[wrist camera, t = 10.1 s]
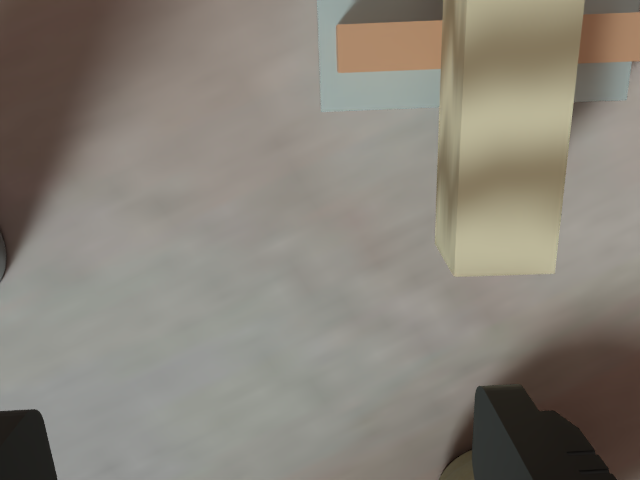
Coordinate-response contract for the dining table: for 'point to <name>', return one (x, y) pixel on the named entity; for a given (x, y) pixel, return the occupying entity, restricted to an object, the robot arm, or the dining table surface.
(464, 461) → the planter bowl
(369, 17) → the fulcrum
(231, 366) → the dining table surface
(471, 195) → the batten
